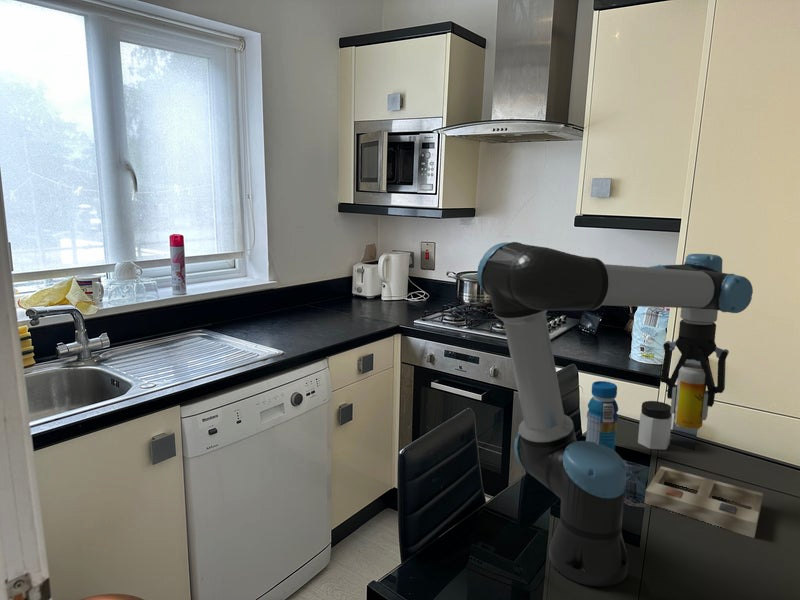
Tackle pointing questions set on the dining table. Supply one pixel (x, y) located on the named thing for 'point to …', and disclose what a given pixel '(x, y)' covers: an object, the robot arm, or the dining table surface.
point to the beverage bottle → (602, 414)
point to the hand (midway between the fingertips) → (688, 414)
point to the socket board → (706, 500)
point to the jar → (655, 425)
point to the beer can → (690, 397)
